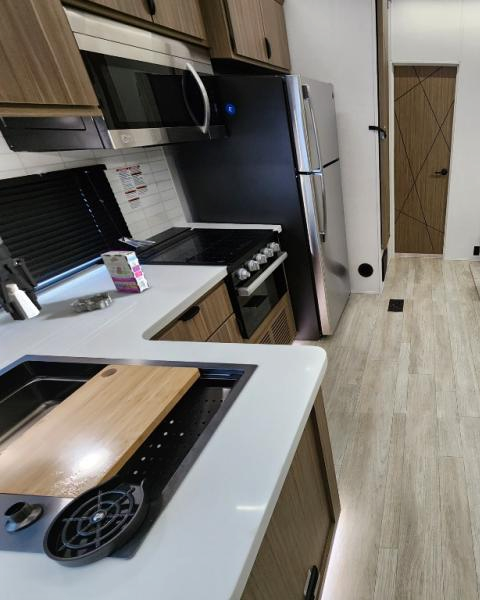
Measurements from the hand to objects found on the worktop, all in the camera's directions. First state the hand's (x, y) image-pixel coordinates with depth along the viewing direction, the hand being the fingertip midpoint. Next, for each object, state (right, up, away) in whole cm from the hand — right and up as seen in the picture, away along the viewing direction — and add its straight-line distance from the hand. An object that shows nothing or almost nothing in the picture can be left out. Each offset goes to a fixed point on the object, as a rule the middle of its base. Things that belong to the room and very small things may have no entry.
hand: (28, 314), depth 107 cm
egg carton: (+3, +2, +19) cm, 20 cm away
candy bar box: (+8, +9, +32) cm, 34 cm away
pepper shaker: (0, 0, 0) cm, 1 cm away
